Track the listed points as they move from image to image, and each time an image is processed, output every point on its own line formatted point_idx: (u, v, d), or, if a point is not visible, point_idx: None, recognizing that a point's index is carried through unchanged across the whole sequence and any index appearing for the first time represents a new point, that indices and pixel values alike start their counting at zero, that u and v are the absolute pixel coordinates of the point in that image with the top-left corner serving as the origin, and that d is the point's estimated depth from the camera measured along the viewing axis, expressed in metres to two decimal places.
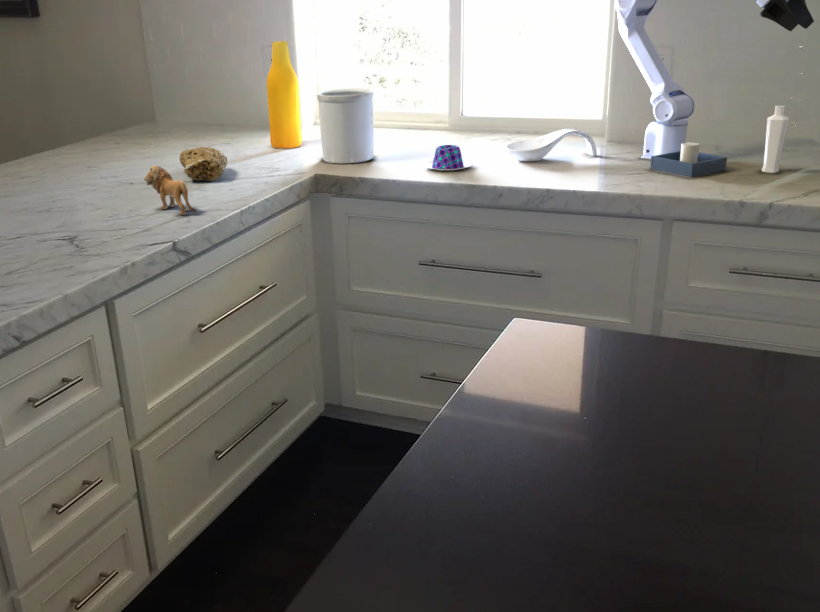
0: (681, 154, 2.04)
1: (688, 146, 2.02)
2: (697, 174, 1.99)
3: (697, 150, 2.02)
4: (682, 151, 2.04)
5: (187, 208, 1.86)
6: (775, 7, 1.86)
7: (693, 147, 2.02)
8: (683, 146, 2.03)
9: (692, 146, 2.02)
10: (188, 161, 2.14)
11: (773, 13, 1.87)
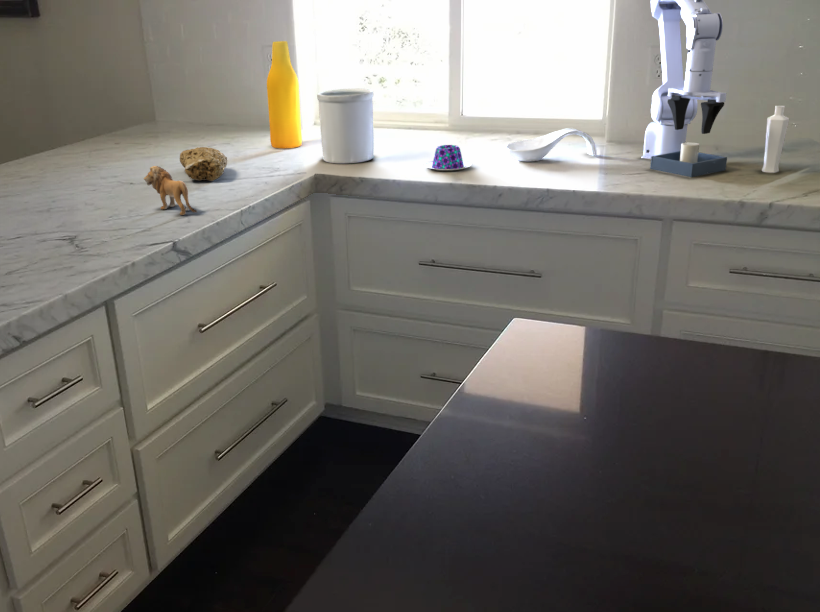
0: (681, 154, 2.04)
1: (688, 146, 2.02)
2: (697, 174, 1.99)
3: (697, 150, 2.02)
4: (682, 151, 2.04)
5: (187, 208, 1.86)
6: None
7: (693, 147, 2.02)
8: (683, 146, 2.03)
9: (692, 146, 2.02)
10: (188, 161, 2.14)
11: None
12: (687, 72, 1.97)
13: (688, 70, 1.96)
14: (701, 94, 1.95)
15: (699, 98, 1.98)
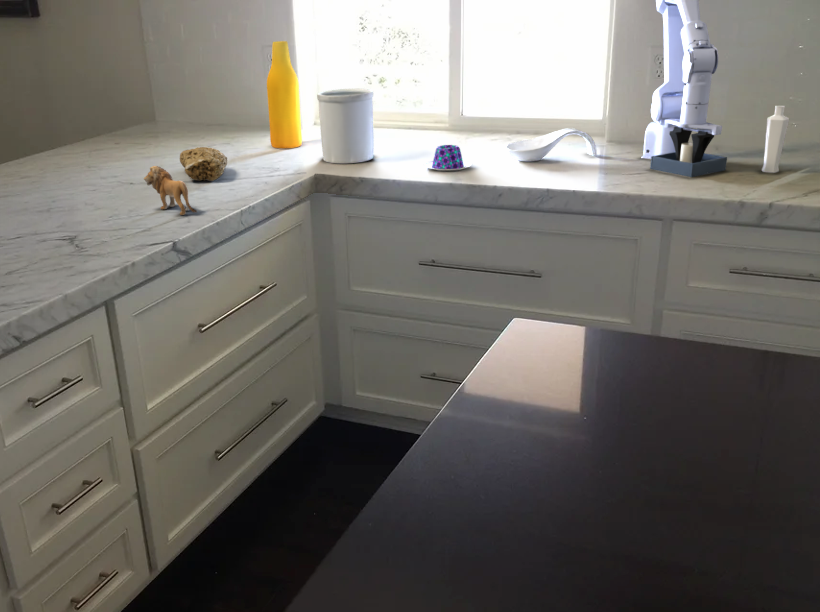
0: (681, 154, 2.04)
1: (688, 146, 2.02)
2: (697, 174, 1.99)
3: None
4: (682, 151, 2.03)
5: (187, 208, 1.86)
6: None
7: None
8: (683, 146, 2.03)
9: (692, 146, 2.02)
10: (188, 161, 2.14)
11: None
12: (683, 105, 1.99)
13: (684, 103, 1.99)
14: (697, 126, 1.98)
15: (695, 130, 2.01)
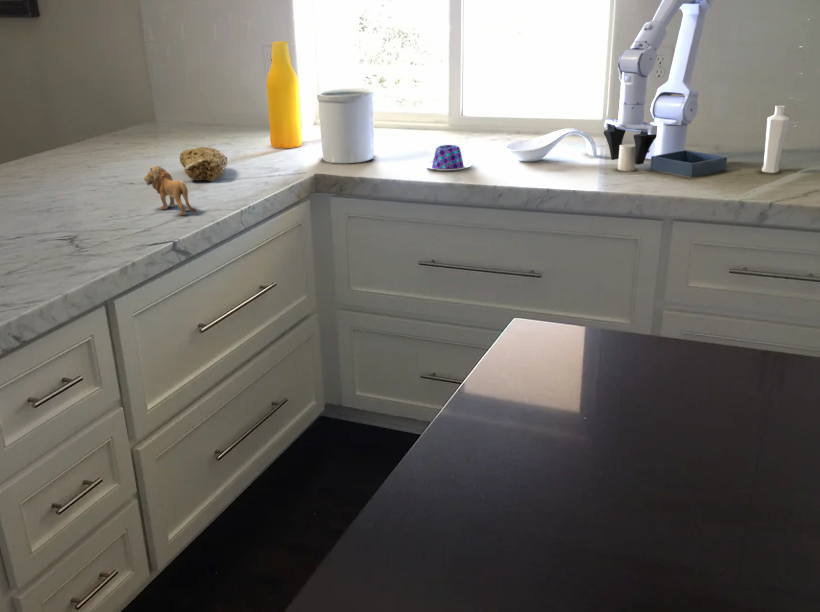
0: (619, 155, 2.07)
1: (626, 147, 2.05)
2: (697, 174, 1.99)
3: (635, 151, 2.05)
4: (620, 152, 2.07)
5: (187, 208, 1.86)
6: None
7: (630, 149, 2.05)
8: (621, 147, 2.06)
9: (629, 147, 2.05)
10: (188, 161, 2.14)
11: None
12: (620, 105, 2.02)
13: (621, 103, 2.02)
14: (634, 126, 2.01)
15: (633, 130, 2.04)
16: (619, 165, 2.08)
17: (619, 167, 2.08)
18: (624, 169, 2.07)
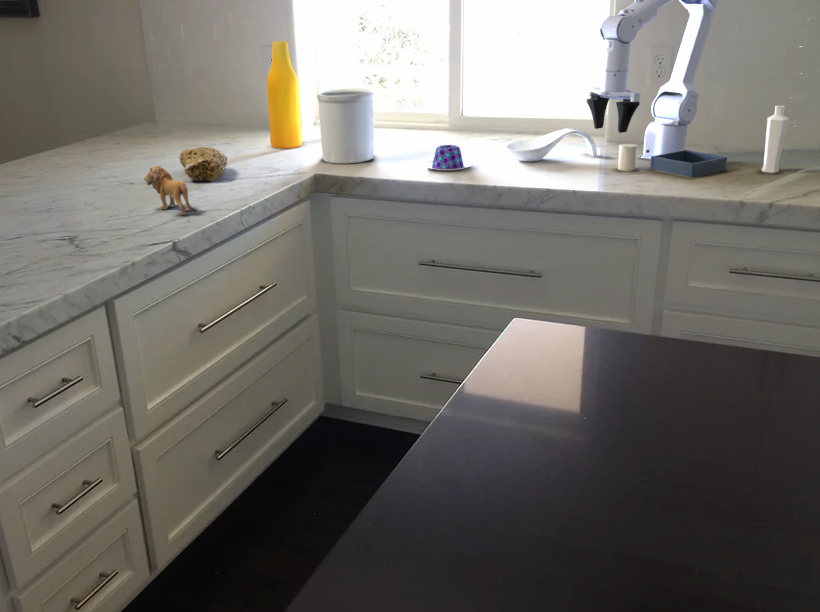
0: (619, 155, 2.07)
1: (626, 147, 2.05)
2: (697, 174, 1.99)
3: (635, 151, 2.05)
4: (620, 152, 2.07)
5: (187, 208, 1.86)
6: None
7: (630, 149, 2.05)
8: (621, 147, 2.06)
9: (629, 147, 2.05)
10: (188, 161, 2.14)
11: None
12: (603, 72, 2.01)
13: (604, 70, 2.00)
14: (616, 94, 2.00)
15: (616, 98, 2.02)
16: (619, 165, 2.08)
17: (619, 167, 2.08)
18: (624, 169, 2.07)
